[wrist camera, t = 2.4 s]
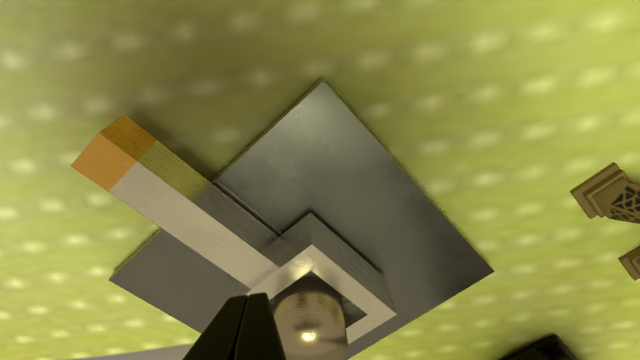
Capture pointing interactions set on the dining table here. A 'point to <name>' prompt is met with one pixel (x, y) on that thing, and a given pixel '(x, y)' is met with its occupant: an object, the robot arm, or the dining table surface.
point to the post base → (334, 212)
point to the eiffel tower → (613, 205)
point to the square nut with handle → (231, 227)
